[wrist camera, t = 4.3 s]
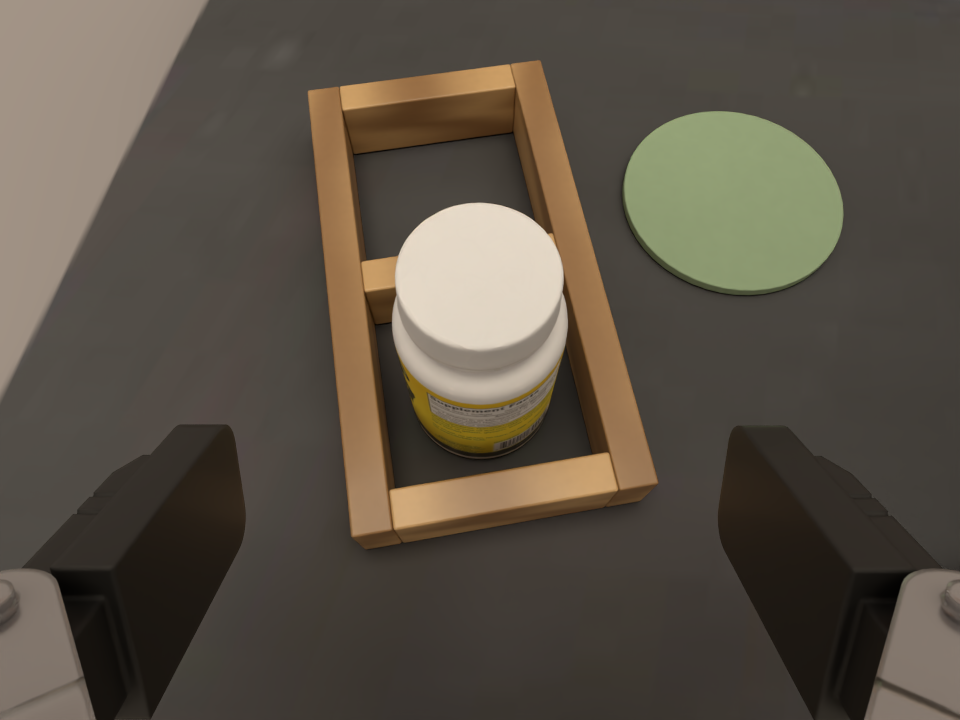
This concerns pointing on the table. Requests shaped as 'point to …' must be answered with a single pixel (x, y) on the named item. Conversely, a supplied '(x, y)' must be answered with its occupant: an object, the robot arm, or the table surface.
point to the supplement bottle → (479, 327)
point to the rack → (371, 294)
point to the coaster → (732, 203)
